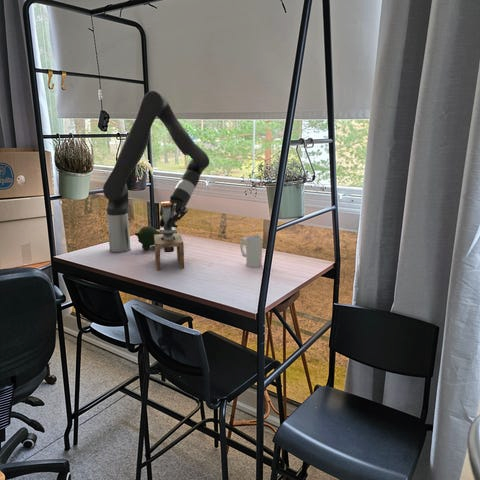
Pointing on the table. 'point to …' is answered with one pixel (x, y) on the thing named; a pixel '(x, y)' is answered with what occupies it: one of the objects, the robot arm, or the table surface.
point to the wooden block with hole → (175, 242)
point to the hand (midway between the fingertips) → (164, 226)
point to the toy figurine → (148, 236)
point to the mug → (252, 250)
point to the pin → (166, 231)
